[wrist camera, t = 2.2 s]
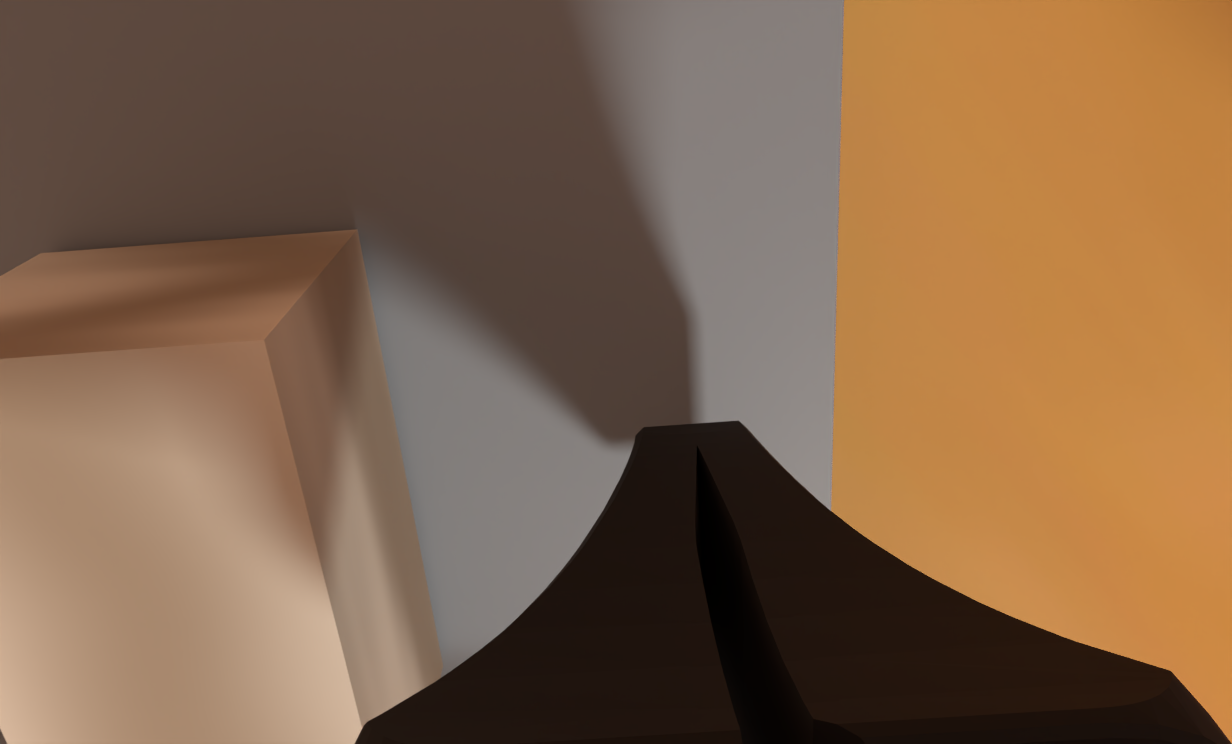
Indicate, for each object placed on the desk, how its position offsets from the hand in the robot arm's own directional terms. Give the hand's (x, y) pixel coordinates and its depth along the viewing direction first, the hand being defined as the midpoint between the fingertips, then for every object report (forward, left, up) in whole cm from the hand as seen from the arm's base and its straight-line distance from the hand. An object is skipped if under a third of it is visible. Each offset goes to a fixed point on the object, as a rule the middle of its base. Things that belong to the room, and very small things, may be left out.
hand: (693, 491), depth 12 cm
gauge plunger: (+6, +2, -1) cm, 6 cm away
